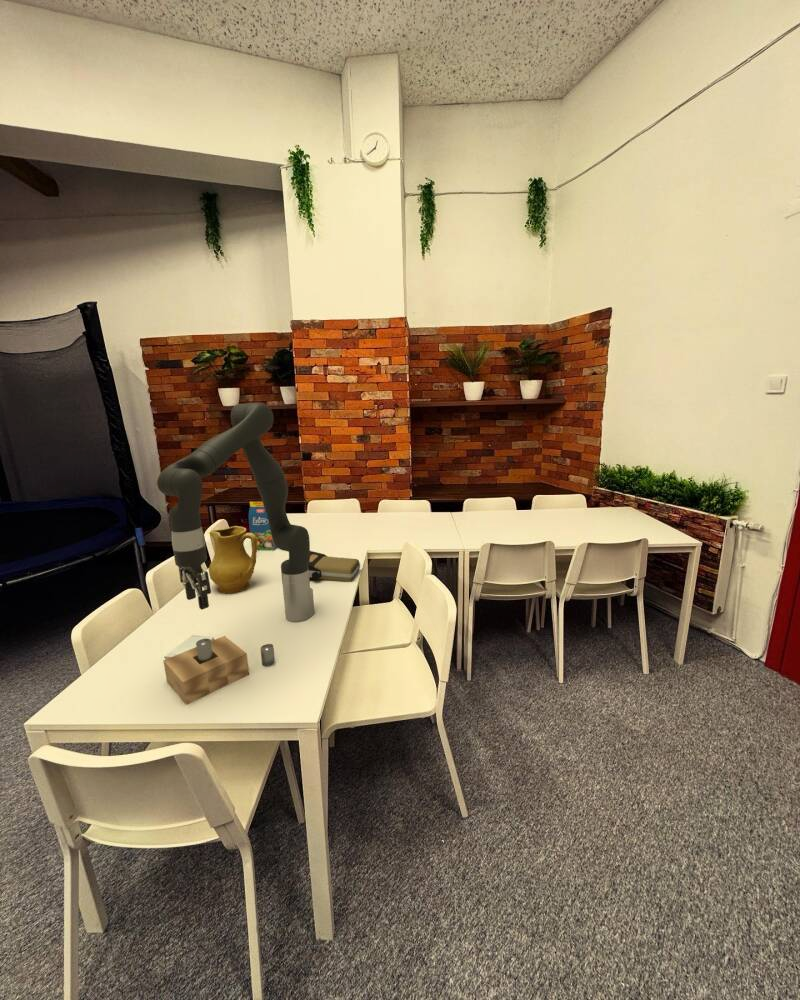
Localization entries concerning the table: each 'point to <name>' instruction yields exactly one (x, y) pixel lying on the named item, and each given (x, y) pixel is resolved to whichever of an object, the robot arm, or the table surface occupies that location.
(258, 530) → the blue food package
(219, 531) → the pitcher
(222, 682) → the guide block
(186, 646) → the hard drive
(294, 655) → the table surface
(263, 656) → the short pin
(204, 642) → the long pin
